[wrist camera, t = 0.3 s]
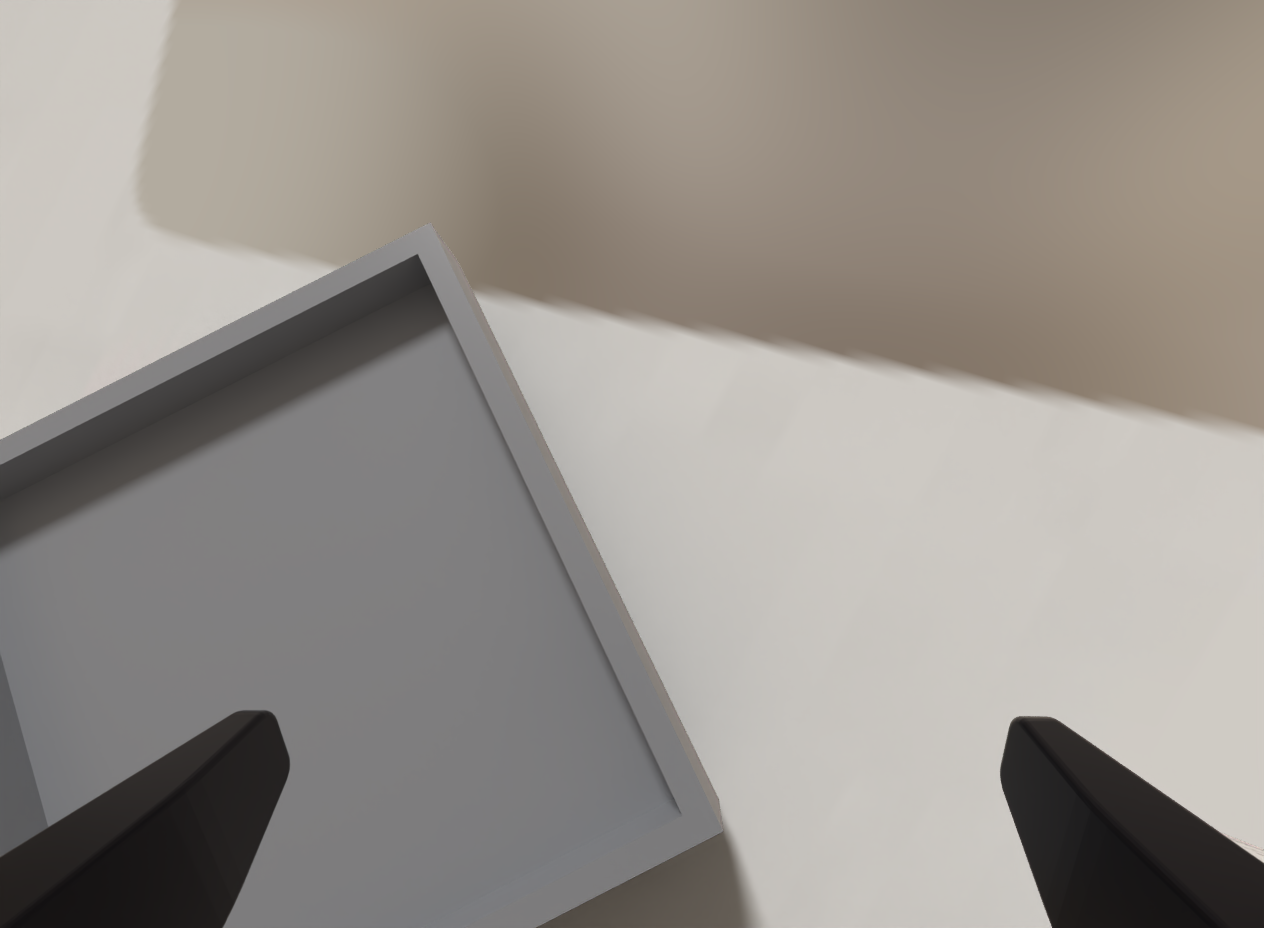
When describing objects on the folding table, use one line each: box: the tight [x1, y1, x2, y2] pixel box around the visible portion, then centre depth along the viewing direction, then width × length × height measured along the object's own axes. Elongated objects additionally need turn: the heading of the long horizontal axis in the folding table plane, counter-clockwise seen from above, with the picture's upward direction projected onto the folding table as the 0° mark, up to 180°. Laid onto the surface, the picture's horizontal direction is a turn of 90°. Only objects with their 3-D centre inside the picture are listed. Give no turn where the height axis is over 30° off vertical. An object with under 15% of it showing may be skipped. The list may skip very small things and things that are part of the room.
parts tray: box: [0, 223, 723, 928], centre depth 21 cm, size 20×20×4 cm
